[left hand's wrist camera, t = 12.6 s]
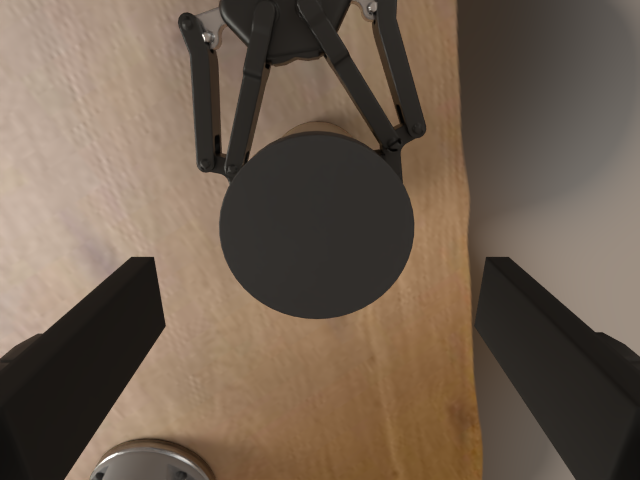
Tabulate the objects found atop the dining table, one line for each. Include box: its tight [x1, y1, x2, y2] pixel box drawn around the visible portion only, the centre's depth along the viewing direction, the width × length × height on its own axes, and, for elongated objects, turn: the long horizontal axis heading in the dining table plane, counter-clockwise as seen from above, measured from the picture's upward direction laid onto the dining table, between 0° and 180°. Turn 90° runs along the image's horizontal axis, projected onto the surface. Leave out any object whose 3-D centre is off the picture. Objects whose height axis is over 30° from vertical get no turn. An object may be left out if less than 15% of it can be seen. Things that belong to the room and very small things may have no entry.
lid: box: [219, 131, 414, 319], centre depth 20 cm, size 10×10×2 cm
